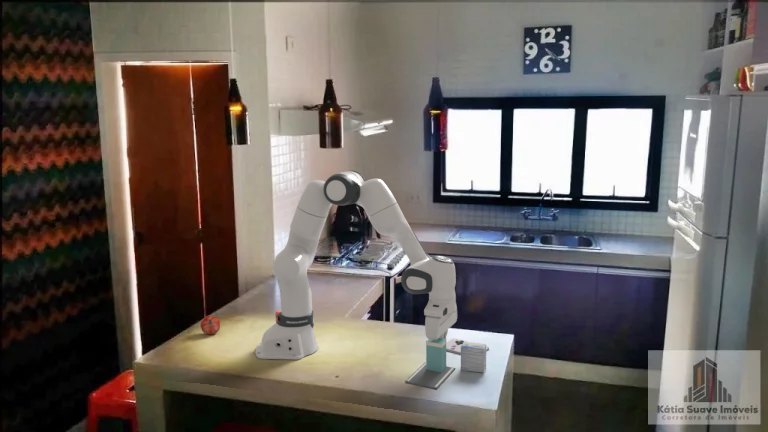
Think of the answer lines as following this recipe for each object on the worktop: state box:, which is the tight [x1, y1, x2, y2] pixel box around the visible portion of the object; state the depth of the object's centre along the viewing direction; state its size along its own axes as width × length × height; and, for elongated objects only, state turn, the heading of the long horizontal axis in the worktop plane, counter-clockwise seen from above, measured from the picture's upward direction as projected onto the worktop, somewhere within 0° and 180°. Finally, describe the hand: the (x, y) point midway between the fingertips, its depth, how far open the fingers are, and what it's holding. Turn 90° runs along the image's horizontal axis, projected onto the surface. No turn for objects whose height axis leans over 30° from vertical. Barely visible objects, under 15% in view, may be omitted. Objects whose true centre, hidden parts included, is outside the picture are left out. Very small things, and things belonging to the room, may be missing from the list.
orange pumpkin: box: [200, 315, 221, 335], centre depth 239 cm, size 7×7×10 cm
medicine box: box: [460, 341, 487, 374], centre depth 203 cm, size 8×4×9 cm, turn 71°
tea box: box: [425, 338, 447, 372], centre depth 203 cm, size 4×6×10 cm
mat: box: [404, 361, 456, 390], centre depth 199 cm, size 16×11×1 cm
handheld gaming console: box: [446, 338, 490, 355], centre depth 220 cm, size 10×2×15 cm
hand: (442, 342), depth 207 cm, fingers closed
